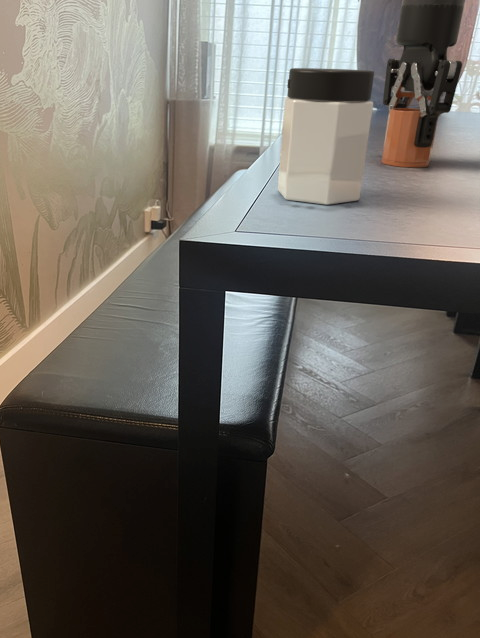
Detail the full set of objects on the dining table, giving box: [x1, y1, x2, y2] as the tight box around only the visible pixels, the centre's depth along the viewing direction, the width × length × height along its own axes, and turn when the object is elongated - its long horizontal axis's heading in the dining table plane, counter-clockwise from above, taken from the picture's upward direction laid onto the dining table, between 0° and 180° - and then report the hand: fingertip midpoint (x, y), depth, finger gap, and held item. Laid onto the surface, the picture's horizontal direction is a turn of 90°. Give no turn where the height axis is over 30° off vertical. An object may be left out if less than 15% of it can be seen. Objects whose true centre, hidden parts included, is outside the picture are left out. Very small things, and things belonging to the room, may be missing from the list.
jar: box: [277, 67, 375, 206], centre depth 61 cm, size 9×8×12 cm
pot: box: [381, 107, 439, 168], centre depth 84 cm, size 6×6×7 cm
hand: (407, 143), depth 84 cm, fingers closed on pot, 6 cm apart
